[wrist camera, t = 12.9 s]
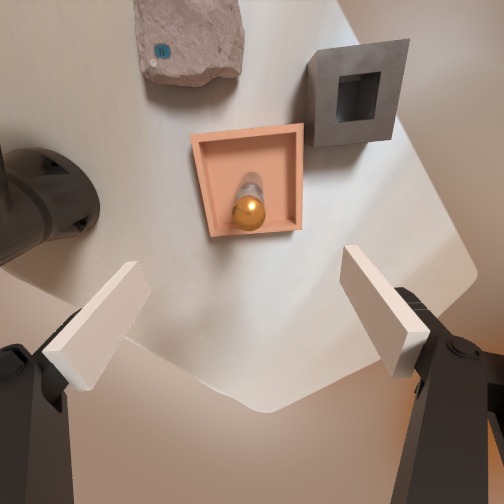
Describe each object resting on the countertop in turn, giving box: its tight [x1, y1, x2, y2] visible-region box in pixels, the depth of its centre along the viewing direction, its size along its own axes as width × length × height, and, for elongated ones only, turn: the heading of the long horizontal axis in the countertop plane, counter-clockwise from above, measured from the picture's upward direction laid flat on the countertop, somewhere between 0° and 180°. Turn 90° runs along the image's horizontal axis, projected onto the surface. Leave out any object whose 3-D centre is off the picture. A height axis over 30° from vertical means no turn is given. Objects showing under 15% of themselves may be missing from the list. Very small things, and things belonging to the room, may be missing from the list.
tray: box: [190, 123, 304, 237], centre depth 37 cm, size 16×16×4 cm
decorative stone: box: [133, 0, 244, 87], centre depth 27 cm, size 13×10×6 cm
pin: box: [232, 172, 266, 231], centre depth 31 cm, size 4×4×16 cm
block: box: [306, 39, 410, 147], centre depth 30 cm, size 10×10×6 cm
